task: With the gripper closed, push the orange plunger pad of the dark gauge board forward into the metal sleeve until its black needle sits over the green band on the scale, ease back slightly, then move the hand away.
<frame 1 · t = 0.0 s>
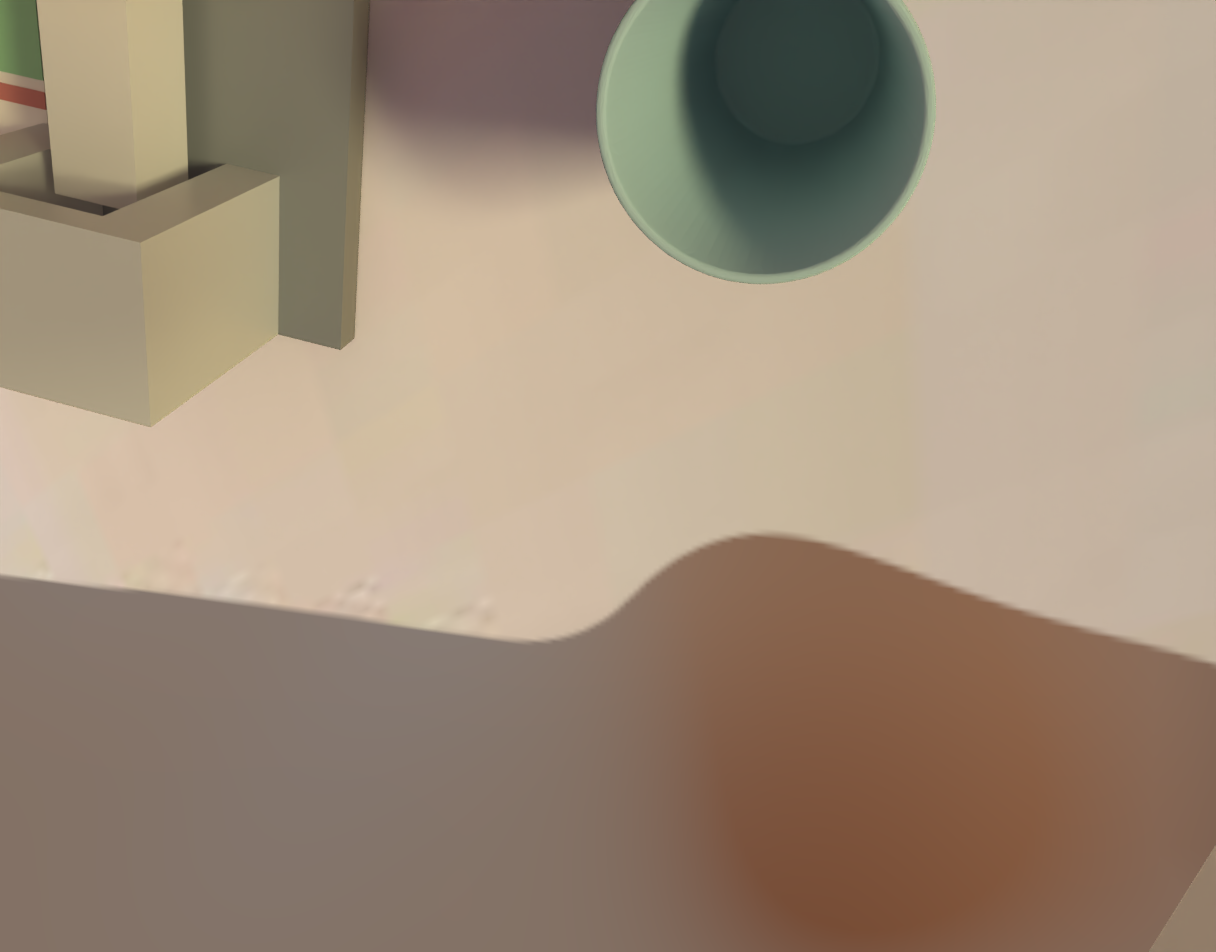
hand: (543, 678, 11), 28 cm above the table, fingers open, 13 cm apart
gauge board: (176, 24, 38), on the table
cup: (798, 56, 34), on the table
plunger: (36, 28, 35), point 4 cm above the table, slide at 0.0 cm
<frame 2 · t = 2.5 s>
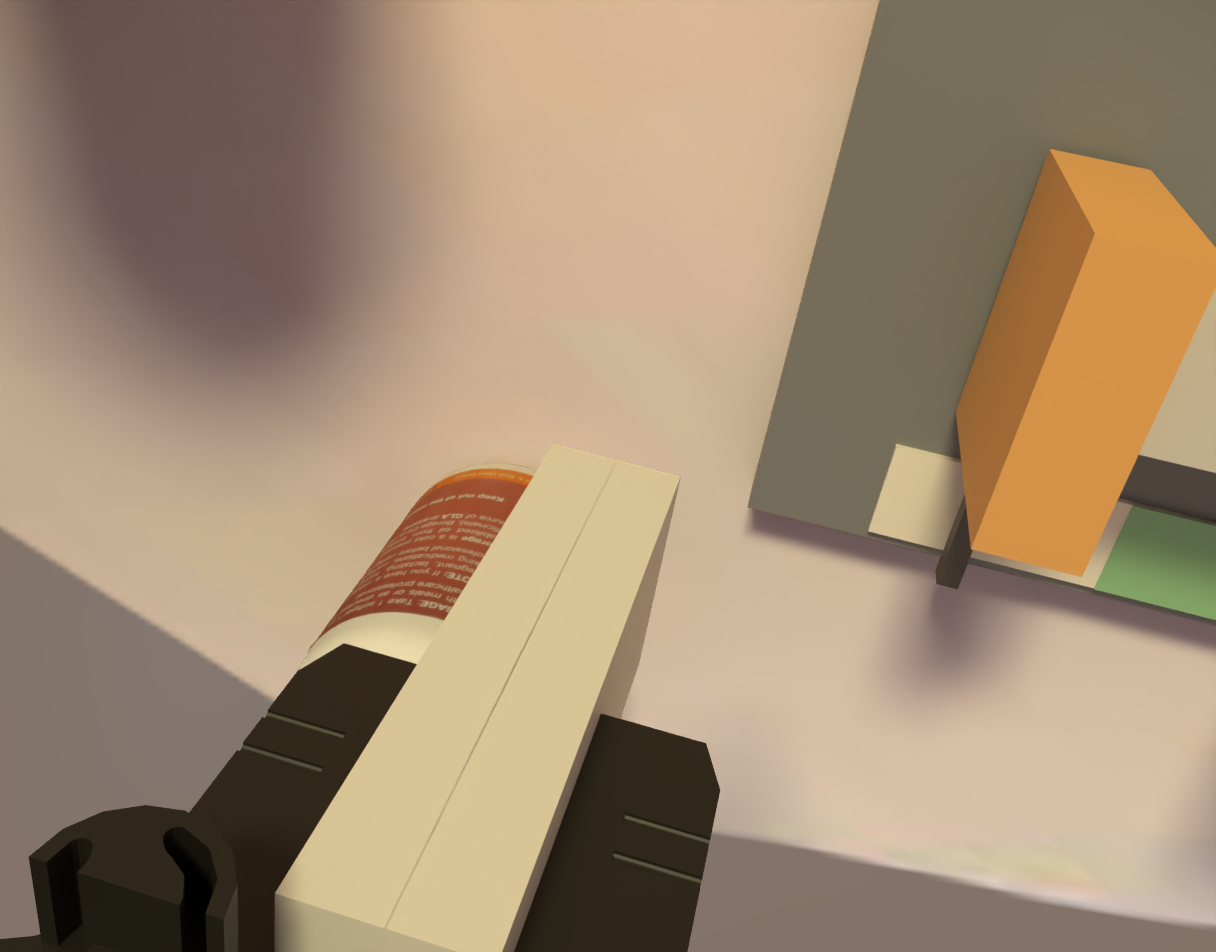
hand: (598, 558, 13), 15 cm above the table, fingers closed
pill bottle: (519, 546, 32), on the table
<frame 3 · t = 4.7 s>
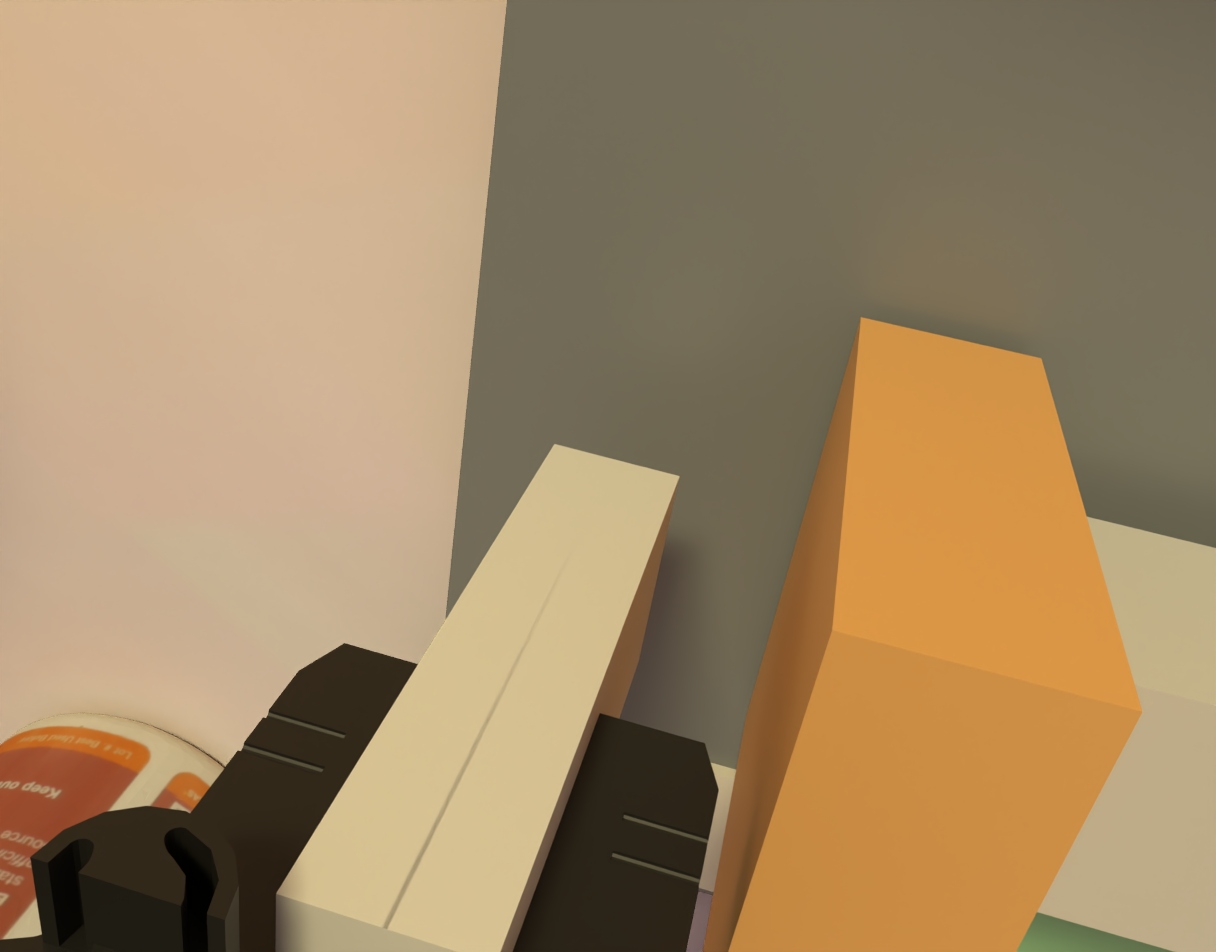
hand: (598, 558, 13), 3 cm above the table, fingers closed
gauge board: (1138, 564, 15), on the table
pill bottle: (156, 814, 22), on the table
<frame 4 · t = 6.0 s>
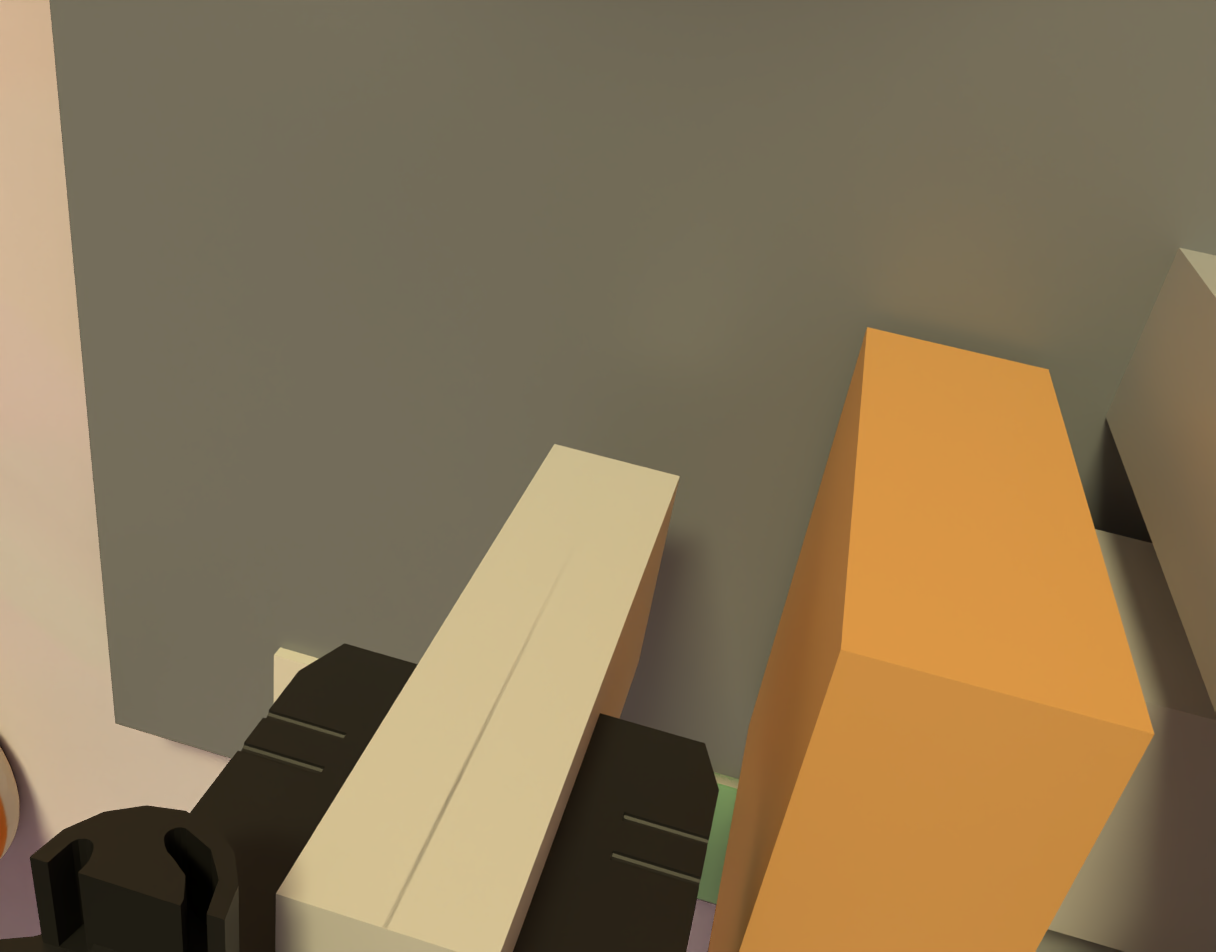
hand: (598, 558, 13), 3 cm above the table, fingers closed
gauge board: (727, 469, 15), on the table
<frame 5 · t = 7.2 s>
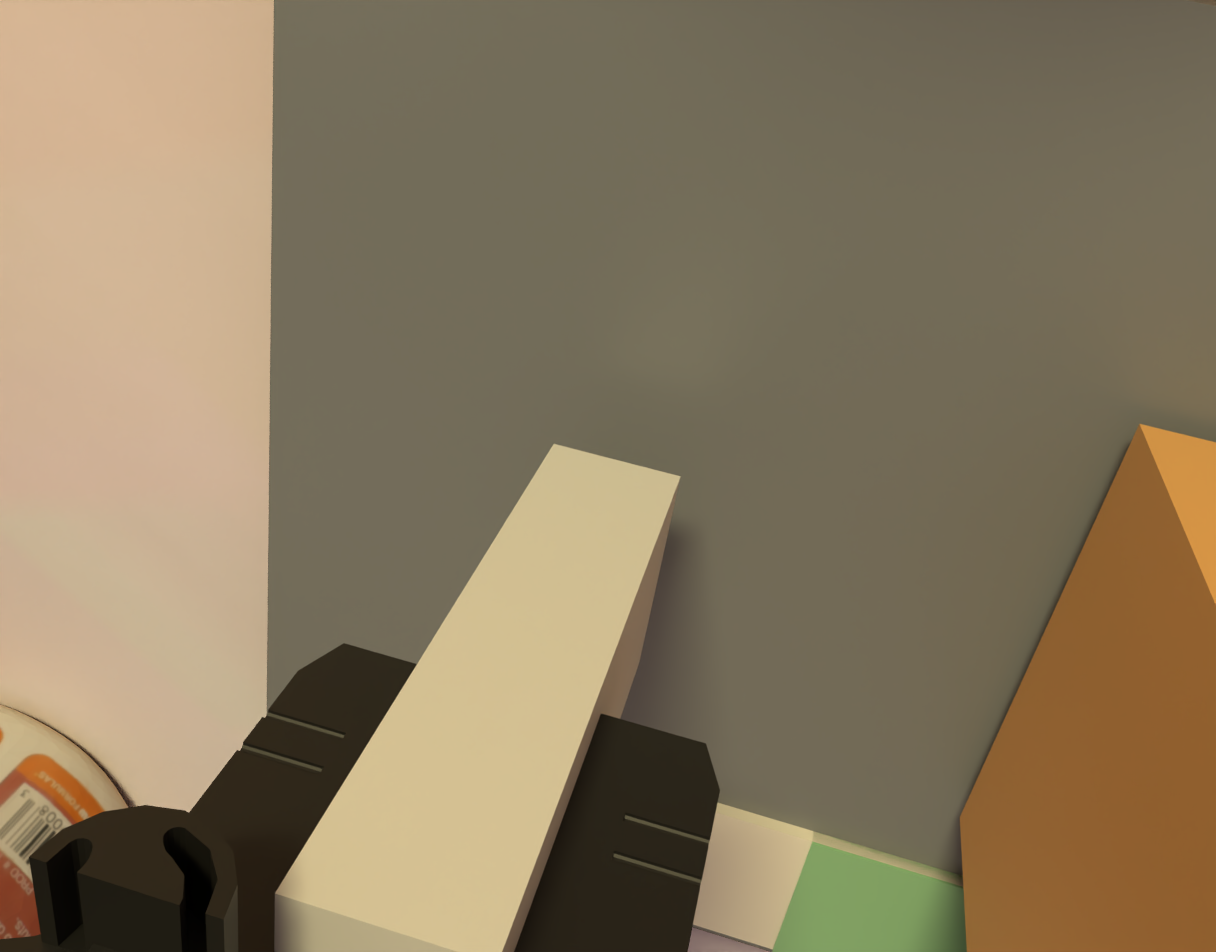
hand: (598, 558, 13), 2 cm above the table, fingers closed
gauge board: (939, 551, 15), on the table
pill bottle: (24, 797, 22), on the table
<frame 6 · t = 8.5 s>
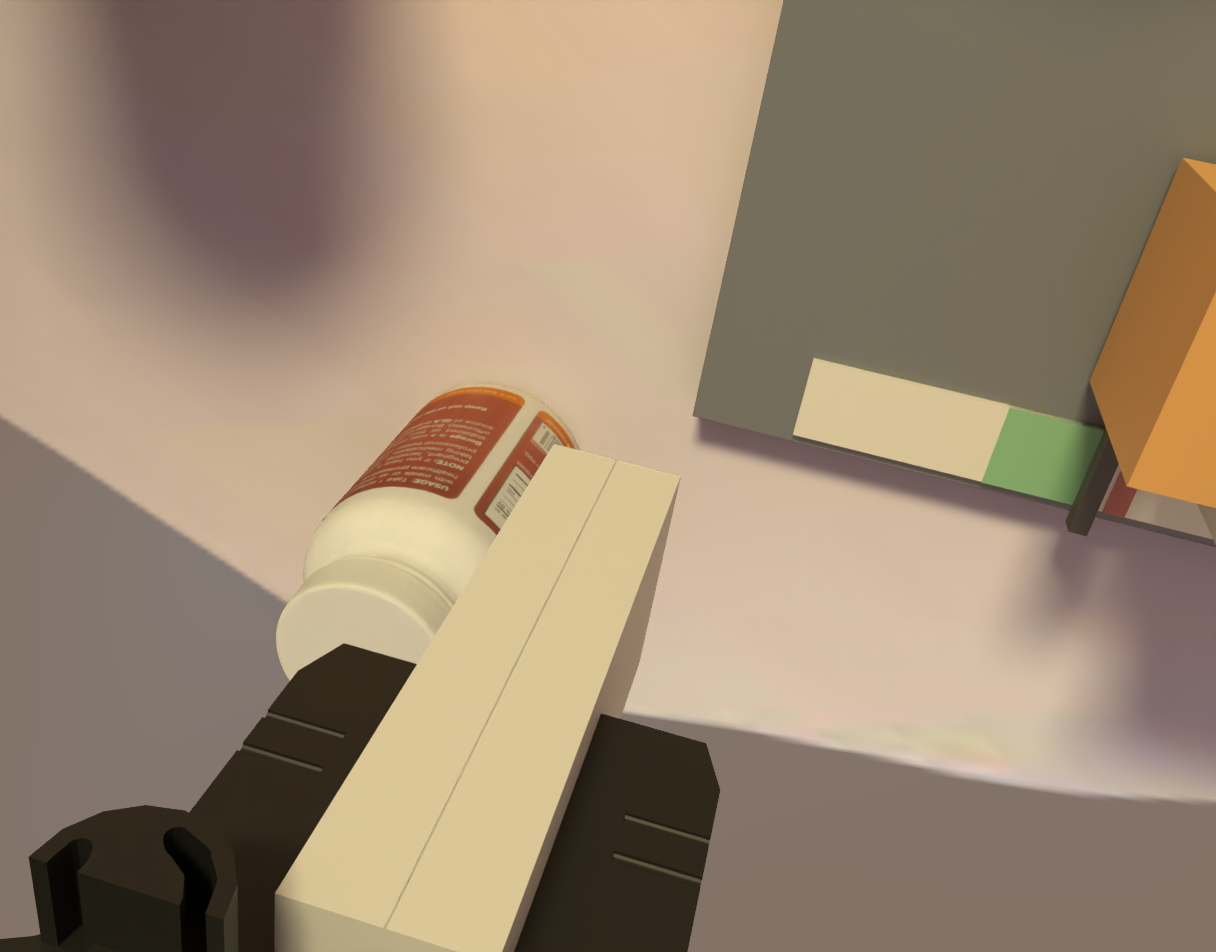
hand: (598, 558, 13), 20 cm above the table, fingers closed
gauge board: (1078, 248, 30), on the table
pill bottle: (502, 460, 37), on the table
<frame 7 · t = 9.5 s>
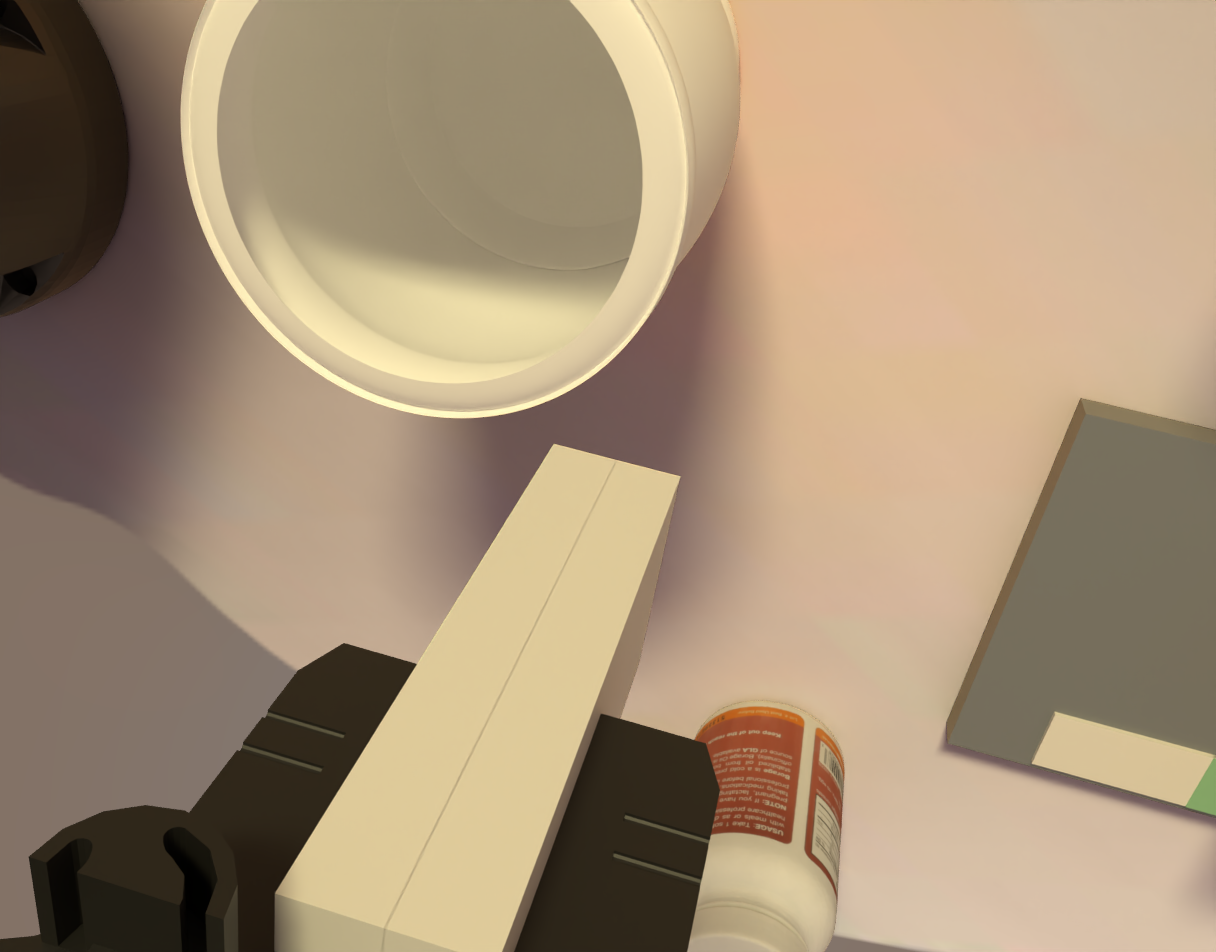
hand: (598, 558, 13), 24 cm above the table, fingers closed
jar: (605, 63, 34), on the table
pill bottle: (770, 750, 46), on the table
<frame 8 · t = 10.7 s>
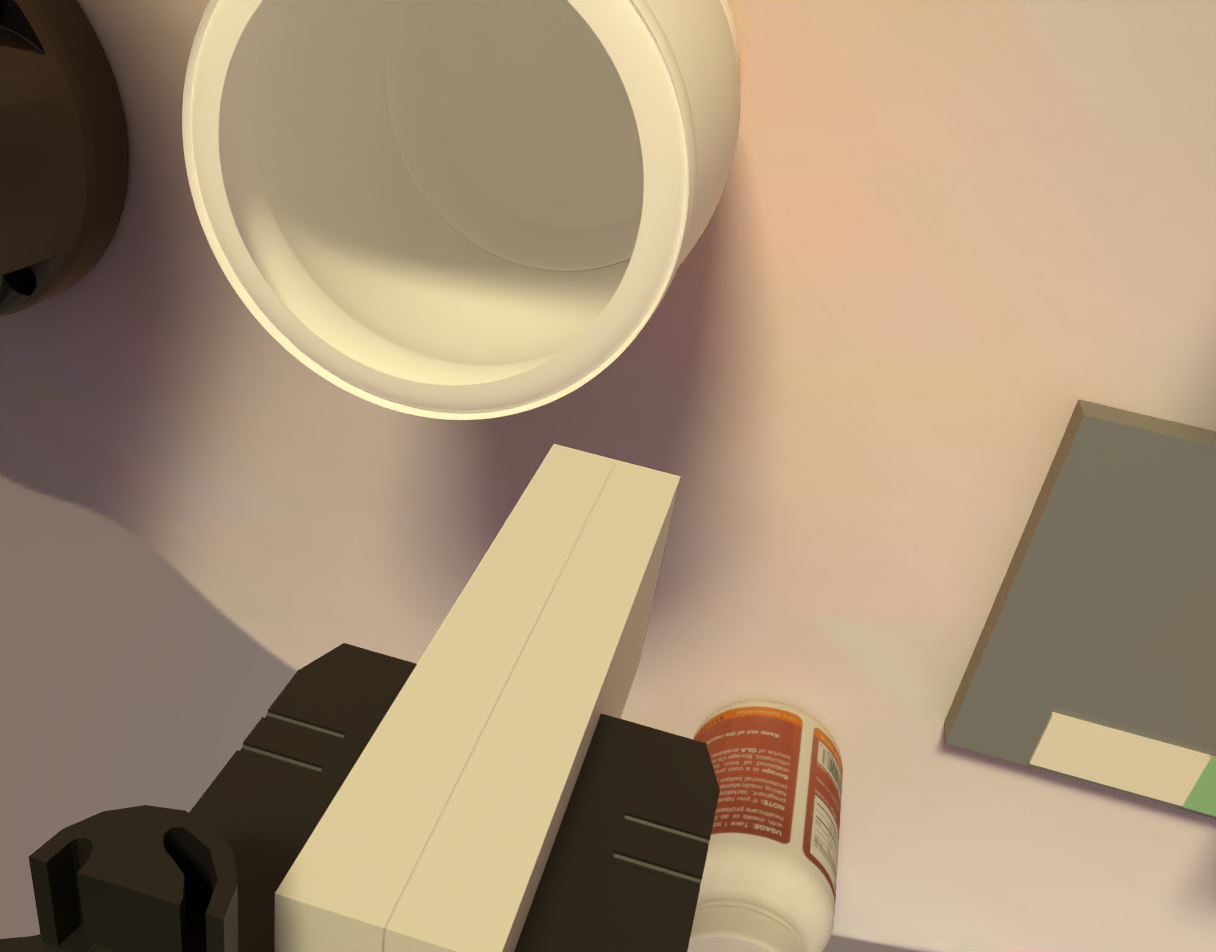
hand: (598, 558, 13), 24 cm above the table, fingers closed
jar: (605, 64, 35), on the table
pill bottle: (768, 750, 46), on the table
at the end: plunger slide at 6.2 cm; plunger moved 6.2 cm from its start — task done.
